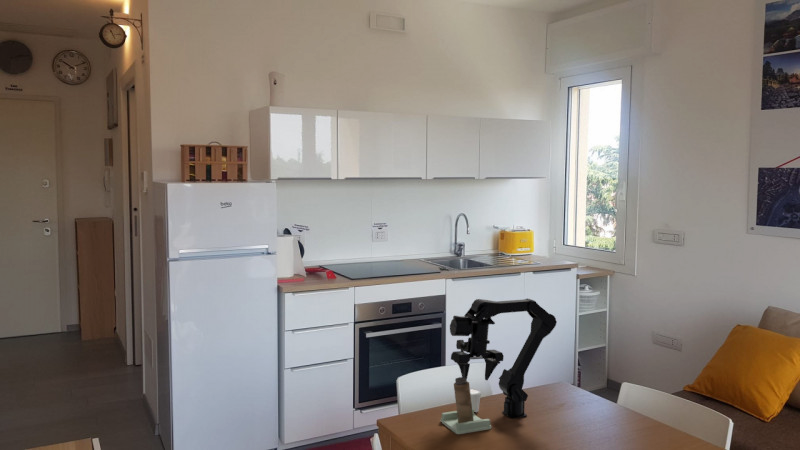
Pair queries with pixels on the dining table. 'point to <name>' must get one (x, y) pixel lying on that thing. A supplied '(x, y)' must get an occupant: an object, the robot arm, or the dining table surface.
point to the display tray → (459, 428)
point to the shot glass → (475, 399)
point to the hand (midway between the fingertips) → (475, 380)
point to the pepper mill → (463, 400)
